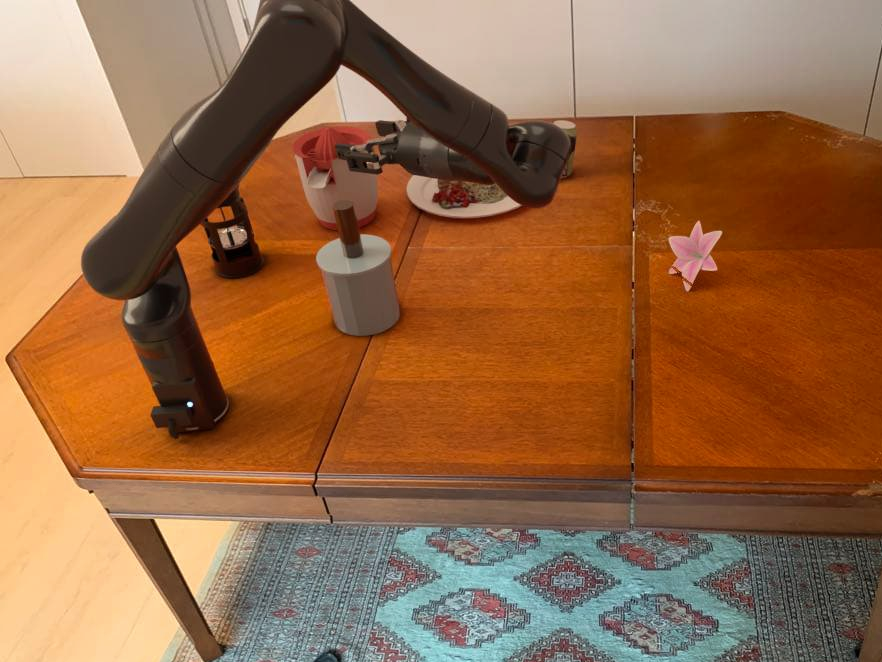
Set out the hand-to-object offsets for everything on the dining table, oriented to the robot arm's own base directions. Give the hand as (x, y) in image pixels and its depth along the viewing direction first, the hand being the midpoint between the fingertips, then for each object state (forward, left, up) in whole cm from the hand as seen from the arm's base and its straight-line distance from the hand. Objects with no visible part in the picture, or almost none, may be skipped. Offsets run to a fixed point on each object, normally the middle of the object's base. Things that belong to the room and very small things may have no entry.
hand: (358, 139), depth 119 cm
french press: (+27, +31, -35) cm, 53 cm away
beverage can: (+53, -37, -35) cm, 73 cm away
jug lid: (+4, +5, -22) cm, 23 cm away
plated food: (+49, -17, -35) cm, 62 cm away
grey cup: (+4, +5, -34) cm, 35 cm away
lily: (+7, -55, -35) cm, 66 cm away
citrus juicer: (+41, +11, -35) cm, 54 cm away
